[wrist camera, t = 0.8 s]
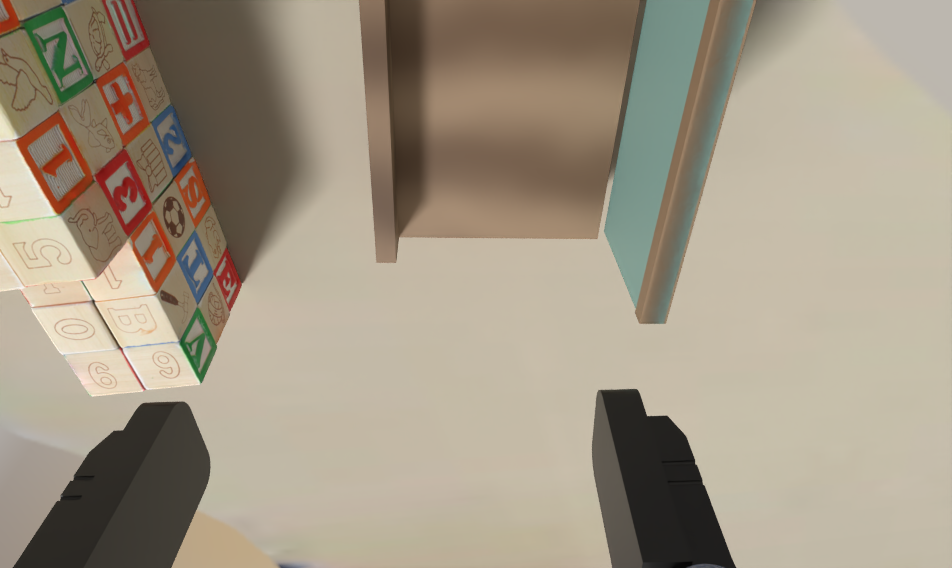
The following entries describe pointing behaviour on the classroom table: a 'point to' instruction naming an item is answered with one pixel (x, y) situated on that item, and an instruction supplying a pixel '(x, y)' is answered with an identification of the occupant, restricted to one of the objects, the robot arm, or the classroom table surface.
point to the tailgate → (671, 140)
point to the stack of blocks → (105, 200)
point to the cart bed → (492, 115)
